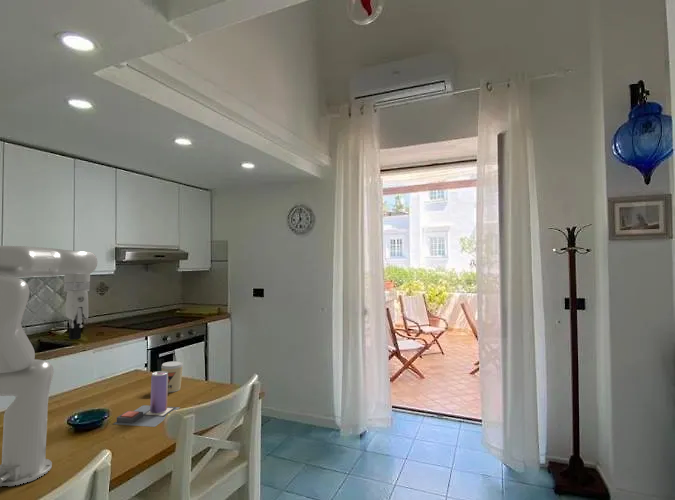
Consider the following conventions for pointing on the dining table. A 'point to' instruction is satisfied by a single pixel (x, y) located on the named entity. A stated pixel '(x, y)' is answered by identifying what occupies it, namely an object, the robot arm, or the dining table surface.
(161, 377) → the beverage can
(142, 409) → the picture board
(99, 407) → the dining table surface
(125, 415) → the button
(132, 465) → the dining table surface
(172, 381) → the coffee cup
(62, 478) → the dining table surface
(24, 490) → the dining table surface
